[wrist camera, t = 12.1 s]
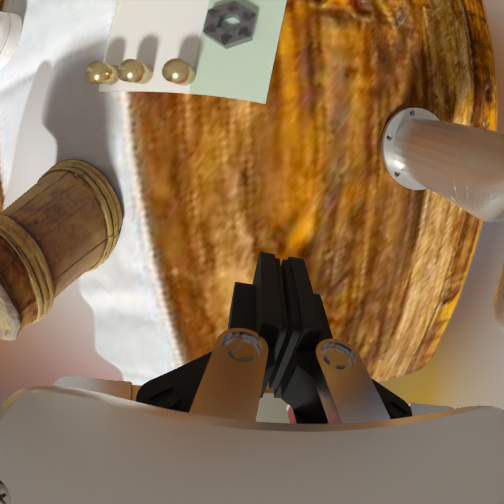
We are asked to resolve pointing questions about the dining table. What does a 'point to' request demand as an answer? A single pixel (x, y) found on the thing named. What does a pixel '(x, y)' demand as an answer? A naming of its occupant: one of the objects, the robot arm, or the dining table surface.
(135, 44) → the mat
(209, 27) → the nut
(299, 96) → the dining table surface
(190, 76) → the spacers
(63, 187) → the tankard
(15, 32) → the honey pot
